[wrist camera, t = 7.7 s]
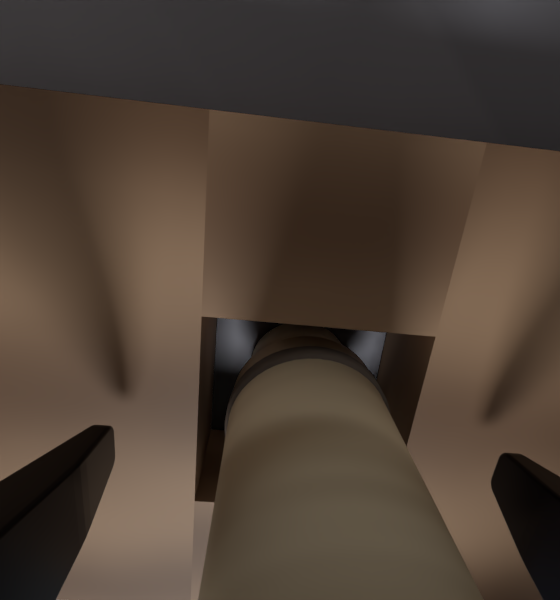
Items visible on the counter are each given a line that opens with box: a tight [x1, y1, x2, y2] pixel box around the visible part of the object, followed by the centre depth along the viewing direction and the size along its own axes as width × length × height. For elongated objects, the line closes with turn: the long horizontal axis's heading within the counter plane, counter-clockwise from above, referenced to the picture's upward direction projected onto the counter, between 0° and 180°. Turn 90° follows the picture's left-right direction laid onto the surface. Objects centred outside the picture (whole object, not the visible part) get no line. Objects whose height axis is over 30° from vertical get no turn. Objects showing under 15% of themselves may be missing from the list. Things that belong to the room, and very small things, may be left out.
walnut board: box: [0, 84, 560, 600], centre depth 11 cm, size 14×20×3 cm
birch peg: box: [198, 324, 484, 600], centre depth 8 cm, size 4×4×9 cm
